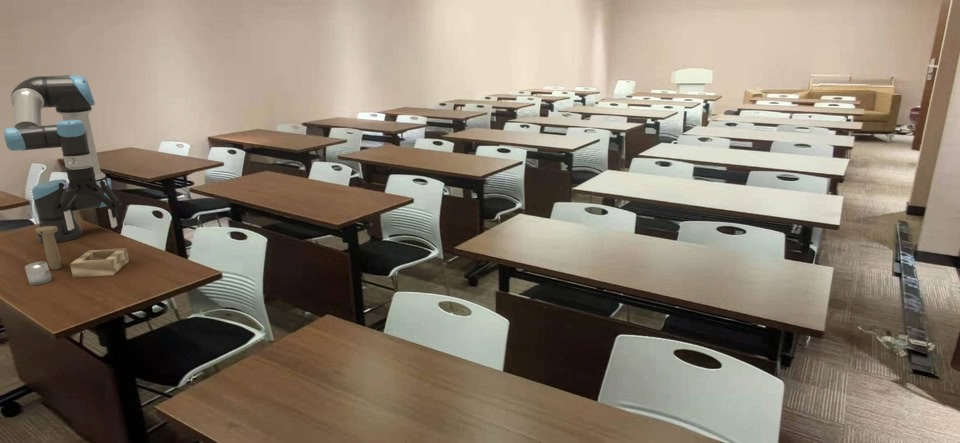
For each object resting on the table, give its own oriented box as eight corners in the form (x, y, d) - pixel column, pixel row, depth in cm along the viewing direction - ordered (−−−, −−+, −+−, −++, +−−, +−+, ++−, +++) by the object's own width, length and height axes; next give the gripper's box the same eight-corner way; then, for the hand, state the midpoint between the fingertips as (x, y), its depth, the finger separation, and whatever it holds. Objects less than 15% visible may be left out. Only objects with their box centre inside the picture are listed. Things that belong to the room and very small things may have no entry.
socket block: (91, 263, 205) (88, 250, 204) (129, 261, 208) (126, 248, 206) (73, 277, 193) (69, 264, 191) (113, 275, 195) (110, 261, 193)
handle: (59, 271, 199) (49, 230, 194) (42, 270, 199) (31, 230, 195) (69, 266, 203) (60, 226, 199) (52, 265, 204) (42, 226, 199)
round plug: (35, 278, 192) (30, 262, 190) (55, 276, 193) (50, 260, 192) (25, 285, 187) (20, 269, 185) (46, 283, 188) (41, 267, 186)
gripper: (31, 171, 184) (46, 233, 190) (115, 167, 188) (127, 228, 194) (44, 166, 191) (58, 227, 197) (124, 163, 195) (136, 222, 201)
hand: (93, 228), depth 195 cm, fingers open, 13 cm apart
